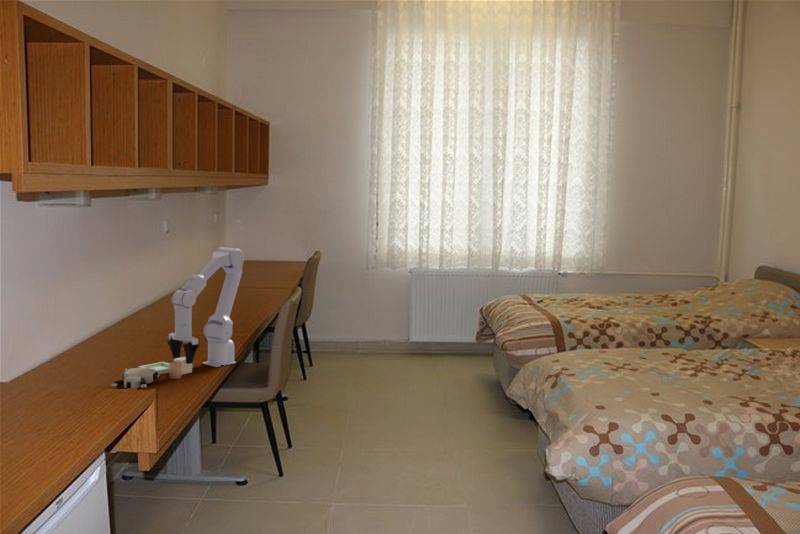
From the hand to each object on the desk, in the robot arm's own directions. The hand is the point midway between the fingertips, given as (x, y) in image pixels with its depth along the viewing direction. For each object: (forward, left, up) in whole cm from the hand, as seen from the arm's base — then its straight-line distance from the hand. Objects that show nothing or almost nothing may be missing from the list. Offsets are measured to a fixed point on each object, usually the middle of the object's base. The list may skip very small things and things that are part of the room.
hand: (182, 361), depth 253 cm
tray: (+4, -8, -4) cm, 10 cm away
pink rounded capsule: (+6, +4, -4) cm, 8 cm away
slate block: (-4, -4, -4) cm, 7 cm away
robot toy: (+21, +4, -4) cm, 22 cm away
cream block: (0, 0, -4) cm, 4 cm away
